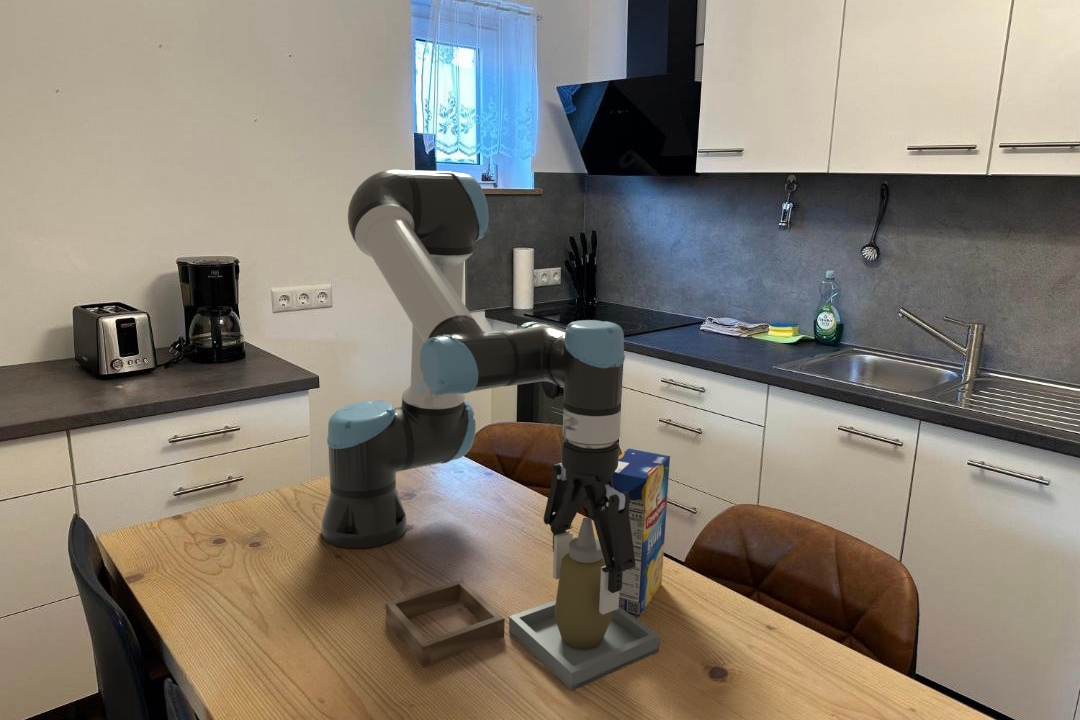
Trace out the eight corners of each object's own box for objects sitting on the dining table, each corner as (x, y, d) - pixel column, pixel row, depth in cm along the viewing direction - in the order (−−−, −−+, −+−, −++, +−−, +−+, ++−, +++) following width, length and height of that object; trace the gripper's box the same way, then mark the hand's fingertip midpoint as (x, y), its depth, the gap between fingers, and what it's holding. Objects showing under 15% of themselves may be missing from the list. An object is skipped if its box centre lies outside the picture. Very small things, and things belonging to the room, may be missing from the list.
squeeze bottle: (548, 650, 100) (552, 529, 96) (558, 617, 108) (562, 503, 104) (607, 659, 98) (613, 536, 94) (613, 625, 106) (620, 510, 102)
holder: (386, 621, 107) (385, 602, 106) (462, 597, 114) (462, 579, 113) (423, 667, 97) (423, 647, 96) (504, 637, 104) (504, 618, 103)
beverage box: (596, 605, 112) (602, 470, 108) (622, 573, 122) (628, 448, 117) (638, 617, 109) (646, 479, 105) (661, 584, 119) (670, 456, 114)
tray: (508, 631, 105) (509, 616, 104) (591, 601, 113) (592, 587, 113) (571, 690, 93) (572, 673, 92) (658, 651, 101) (659, 635, 101)
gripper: (520, 421, 103) (517, 565, 108) (624, 472, 85) (616, 642, 90) (563, 413, 108) (559, 552, 113) (671, 460, 90) (660, 623, 94)
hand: (584, 592), depth 101 cm, fingers open, 10 cm apart
